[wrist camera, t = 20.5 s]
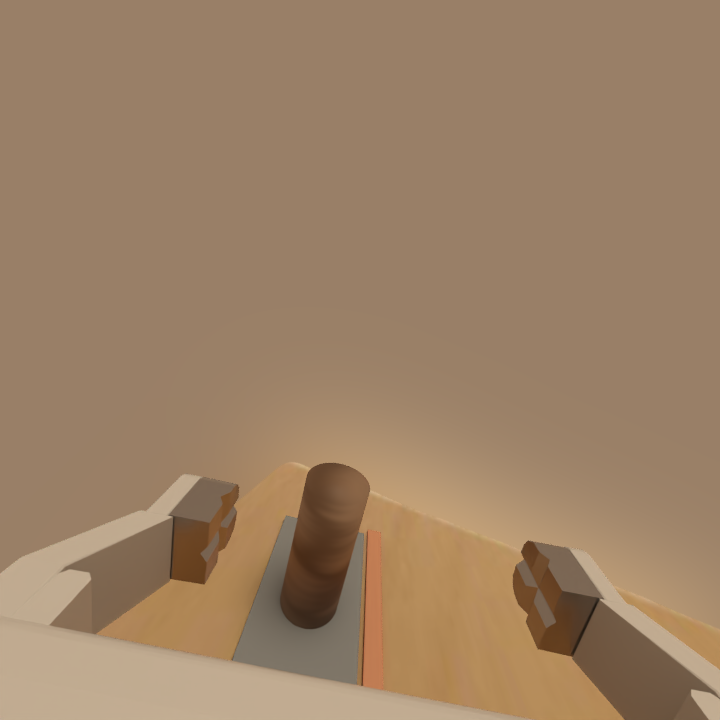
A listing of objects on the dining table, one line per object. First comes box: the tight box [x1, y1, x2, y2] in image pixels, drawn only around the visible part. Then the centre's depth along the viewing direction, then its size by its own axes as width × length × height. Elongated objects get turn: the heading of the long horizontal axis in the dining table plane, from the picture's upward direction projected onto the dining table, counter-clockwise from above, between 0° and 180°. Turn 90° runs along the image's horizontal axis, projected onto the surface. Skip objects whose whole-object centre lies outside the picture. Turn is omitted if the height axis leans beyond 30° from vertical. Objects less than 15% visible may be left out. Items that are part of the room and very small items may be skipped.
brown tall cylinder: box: [280, 463, 370, 629], centre depth 28 cm, size 5×5×12 cm
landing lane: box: [232, 516, 383, 690], centre depth 30 cm, size 11×20×1 cm, turn 177°
